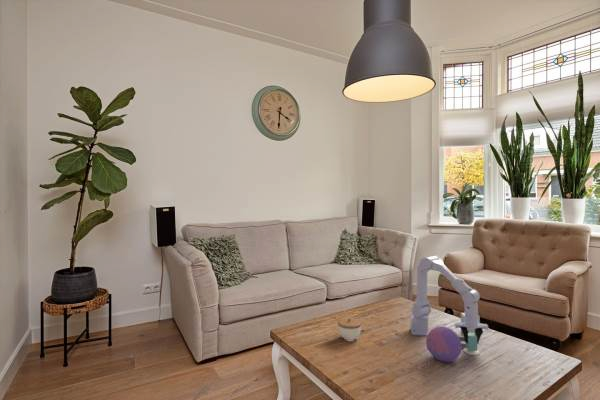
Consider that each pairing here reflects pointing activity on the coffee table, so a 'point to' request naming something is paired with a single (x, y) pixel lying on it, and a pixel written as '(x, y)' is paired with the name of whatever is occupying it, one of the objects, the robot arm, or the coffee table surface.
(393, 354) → the coffee table surface
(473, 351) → the coaster
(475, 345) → the peg
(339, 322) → the lidded bowl
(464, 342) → the pocket board
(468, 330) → the small box
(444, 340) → the decorative ball
